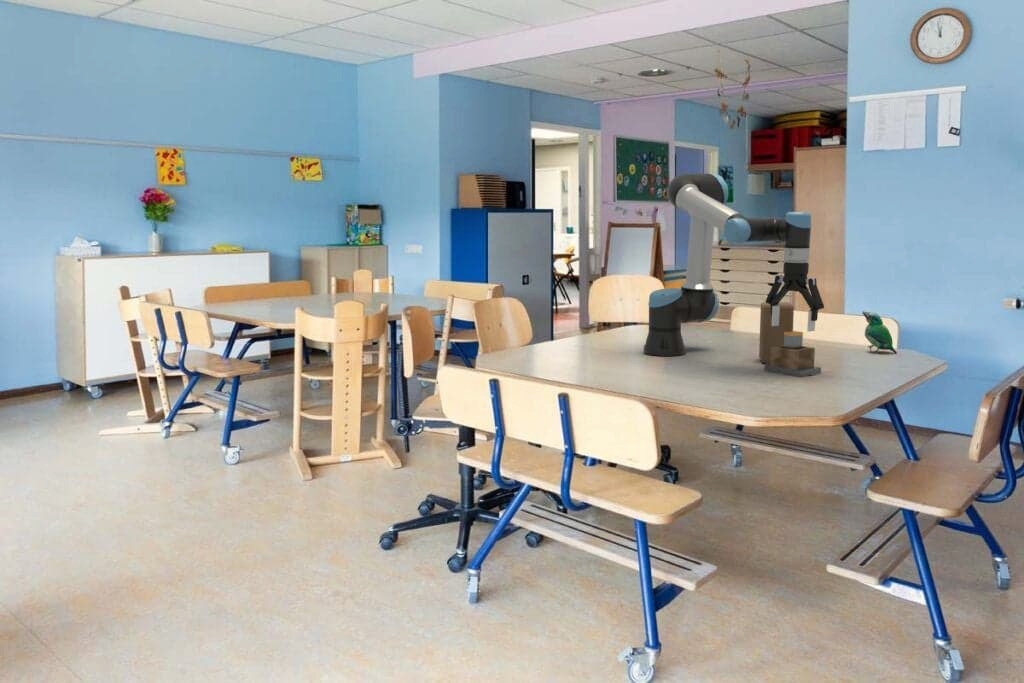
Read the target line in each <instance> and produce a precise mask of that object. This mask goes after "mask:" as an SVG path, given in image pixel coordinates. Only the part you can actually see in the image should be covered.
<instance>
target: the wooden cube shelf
mask: <svg viewBox="0 0 1024 683" xmlns="http://www.w3.org/2000/svg"><path fill="white" fill-rule="evenodd" d="M815 352H816V347H811V346H804V345H802V349H796V350H794V349H787V348H784V345H781V346H775V347H771V360H770V363H769V364H770V366H776V367H782V368H788V369H794V370H797V369H802V368H808V367H813V366H815V356H816V355H815V354H816V353H815Z"/></svg>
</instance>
